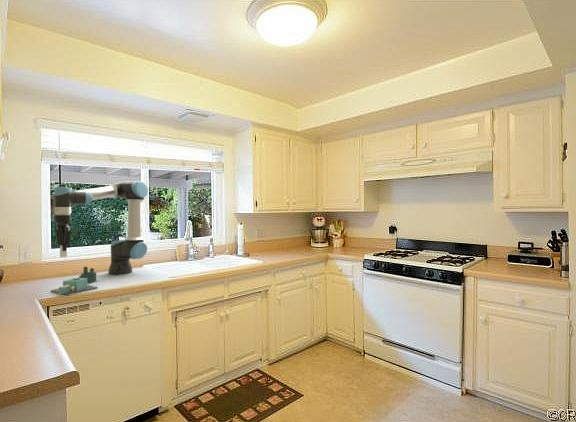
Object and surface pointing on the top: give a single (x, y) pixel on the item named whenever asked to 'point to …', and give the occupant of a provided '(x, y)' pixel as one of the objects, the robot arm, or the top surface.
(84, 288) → the post plate
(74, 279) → the teal stepped block
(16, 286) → the top surface
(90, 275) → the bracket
